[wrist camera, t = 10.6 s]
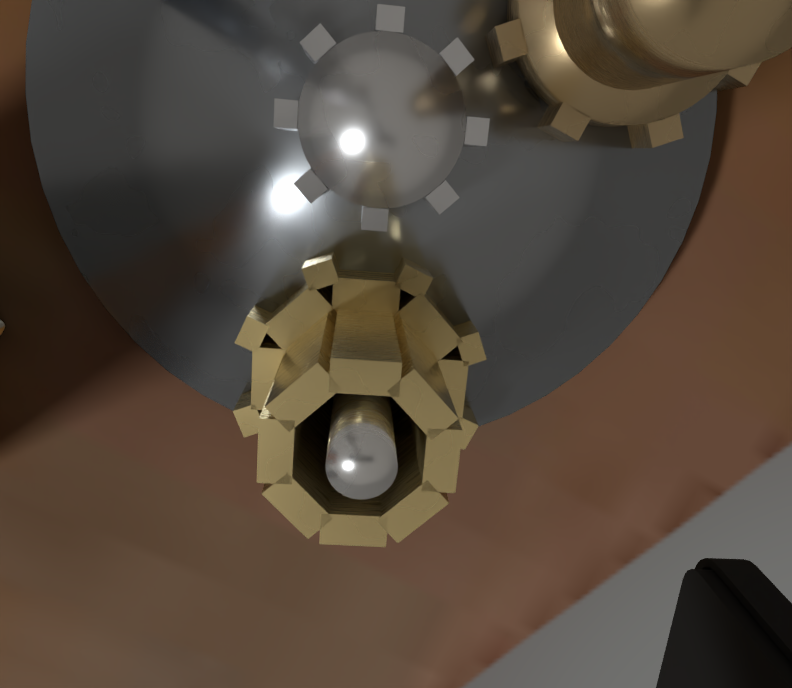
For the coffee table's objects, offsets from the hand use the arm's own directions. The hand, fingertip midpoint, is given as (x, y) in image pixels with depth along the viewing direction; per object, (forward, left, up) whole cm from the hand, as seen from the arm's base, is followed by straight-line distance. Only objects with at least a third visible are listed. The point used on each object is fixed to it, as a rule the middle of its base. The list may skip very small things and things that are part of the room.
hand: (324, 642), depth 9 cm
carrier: (-7, +1, -15) cm, 16 cm away
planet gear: (+1, 0, -14) cm, 14 cm away
